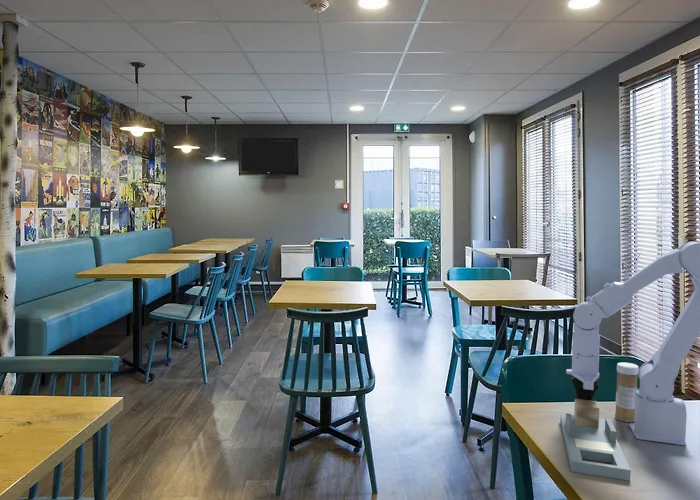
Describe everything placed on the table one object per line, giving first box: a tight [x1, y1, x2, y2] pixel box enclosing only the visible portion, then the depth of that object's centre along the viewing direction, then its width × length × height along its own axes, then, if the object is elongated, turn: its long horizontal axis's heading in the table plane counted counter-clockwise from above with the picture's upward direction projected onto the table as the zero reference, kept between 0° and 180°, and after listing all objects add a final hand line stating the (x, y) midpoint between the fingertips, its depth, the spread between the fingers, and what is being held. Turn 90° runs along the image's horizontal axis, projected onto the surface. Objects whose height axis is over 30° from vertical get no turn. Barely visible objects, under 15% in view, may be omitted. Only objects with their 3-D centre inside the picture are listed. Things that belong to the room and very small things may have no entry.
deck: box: [560, 412, 631, 481], centre depth 105 cm, size 10×25×4 cm, turn 162°
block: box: [573, 398, 600, 428], centre depth 113 cm, size 4×4×4 cm
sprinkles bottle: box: [614, 361, 640, 423], centre depth 121 cm, size 5×5×13 cm
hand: (583, 410), depth 118 cm, fingers closed
